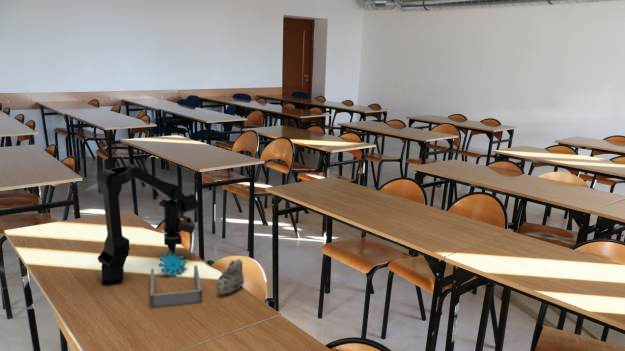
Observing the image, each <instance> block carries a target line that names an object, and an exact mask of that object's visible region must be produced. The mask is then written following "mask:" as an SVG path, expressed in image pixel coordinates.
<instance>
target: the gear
mask: <svg viewBox="0 0 625 351" xmlns="http://www.w3.org/2000/svg"><path fill="white" fill-rule="evenodd" d="M167 254H168V256H167ZM178 255H179V252H178V251H175V252H174V253H173V255H172V251H170V250H169V251H168V253H167V252H163V253H162V256H161V257H159V259H158V260H159V261H161V262H159V263H158V267H159V268H160V267H162V268H161V269H160V270H161V272H162V273H165V272H166V271H167V272H166V273H165V275H166V276H168V277H169V276H170V275H171V273H172V272H173V273H172V277H177V274H178V275H182V274H183V271H184V270H185V269H186V266H185V265H186V264H188V262H189V259H187V258H186V259H185V260H182V259H184V256H183V254H181V255H180V256H178ZM177 271H178V273H177Z"/></svg>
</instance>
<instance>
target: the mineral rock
mask: <svg viewBox="0 0 625 351" xmlns="http://www.w3.org/2000/svg"><path fill="white" fill-rule="evenodd" d="M243 264H244V263H243V261H242V260H241V259H236V260H231V261H229V264H228V266H227V268H226V269H225V270H224V271H223V272H222V273H221V275H220V276H219V277H218V279H217V281H216V284H215V285H216V290H217V292H218V293H219V294H220V295H225V294H229V293H232V292H234V291H236V290H237V289H240V288H241V287H242V286H243V285H244V283H245V278H244V273H243Z"/></svg>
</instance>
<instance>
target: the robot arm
mask: <svg viewBox="0 0 625 351" xmlns="http://www.w3.org/2000/svg"><path fill="white" fill-rule="evenodd" d="M132 179H136V180H138V181H139V182H141V183H144V184H146V185H147V186H149V187H151V188H154V189H155V190H156V192H157V193H158V194H160V195H161V196H162V197H164V198H167V199H168V200H167V199H161V201H160V202H159V203H158V206H160V207H162V208H163V222H164V223H163V231H164V233H163V234H164V235H163V242H164V246H167V247H168V249H169V251H172V254H173V255H174V253H175V252H176V247H177V245H182V244H183V243H182V241H183V239H182V235H181V233H182V232H184V233H188V234H193V233H194V230H195V227H196V225H195V224H196V223H195V222H193V221H192V218H191V217H186V218H185V219H181V216H180V213H183V214H185V213H189V212H194V211H196V210H198V208H199V203H198V202H199V201H198V199H197V198H196V197H195V196H196V195H195V194H194V193H189V194H184V193H183V190H182V187H181V186H179V185H177V184H175V183H172V182H168V181H166V180H162V179H160V178H158V177H156V176H154V175H153V174H151V173H148V171H146V170H143V169H142V168H140V167H139V166H136V165H134V164H131V163H130V164H127V165H124V166H119V167H113V168H110V169H102V170H100V171H99V172H98V173H97V175H96V183H97V185H98V189H99V191H100V192H101V194H102V196H103V205H104V214H105V224H106V232H107V236H106V238H105V240H104V246H103V250H102V252H101V253H100V254H99V255H98V256H97V260H98V263H100V264H101V268H100V269H101V279H102V280H101V285H102V286H106V285H107V286H108V285H117V284H122V283H123V280H124V278H125V271H124V269H125V268H124V266H125V264H126V260H127V257H128V256H129V253H130V251H131V248H130V239H128V238H127V237H126V236H124V235H123V231H122V230H123V229H122V219H121V207H120V194H121V192H122V191H123V190H122V189H123V185H125V184H127V183H129V182H130V181H131V180H132ZM172 254H171V255H172Z"/></svg>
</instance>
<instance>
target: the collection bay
mask: <svg viewBox="0 0 625 351" xmlns="http://www.w3.org/2000/svg"><path fill="white" fill-rule="evenodd" d="M193 267H194V268H193V274H194V275H193V276H194V281H195V288H196V290H195V289H194V290H183V291H174V292H163V293H155V269H154V268H151V269H150V291H149V292H150V296H149V297H150V308H158V307H168V306H170V307H171V306H178V305H188V304H195V303H203V289H202V283H201V279H200V274H199V269H198V265H197V264H196V265H194V266H193Z"/></svg>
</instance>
